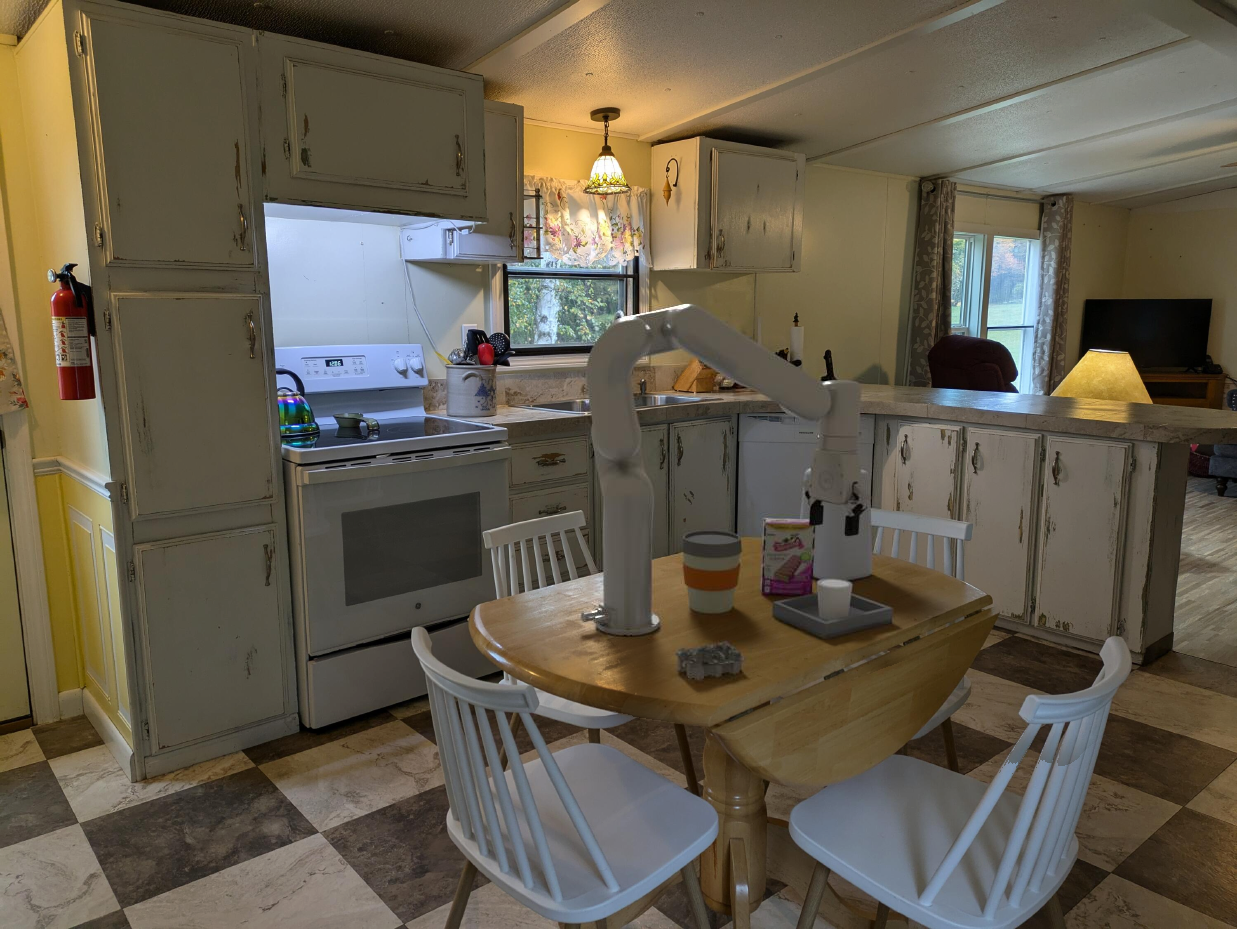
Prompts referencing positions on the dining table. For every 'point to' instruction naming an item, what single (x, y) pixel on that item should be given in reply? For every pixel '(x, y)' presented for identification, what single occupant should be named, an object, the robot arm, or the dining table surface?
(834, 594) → the white cup
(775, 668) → the dining table surface
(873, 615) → the tray
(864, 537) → the plastic bottle
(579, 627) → the dining table surface
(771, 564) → the candy bar box
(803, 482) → the robot arm
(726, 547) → the reusable coffee cup
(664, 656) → the dining table surface
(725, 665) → the egg carton
